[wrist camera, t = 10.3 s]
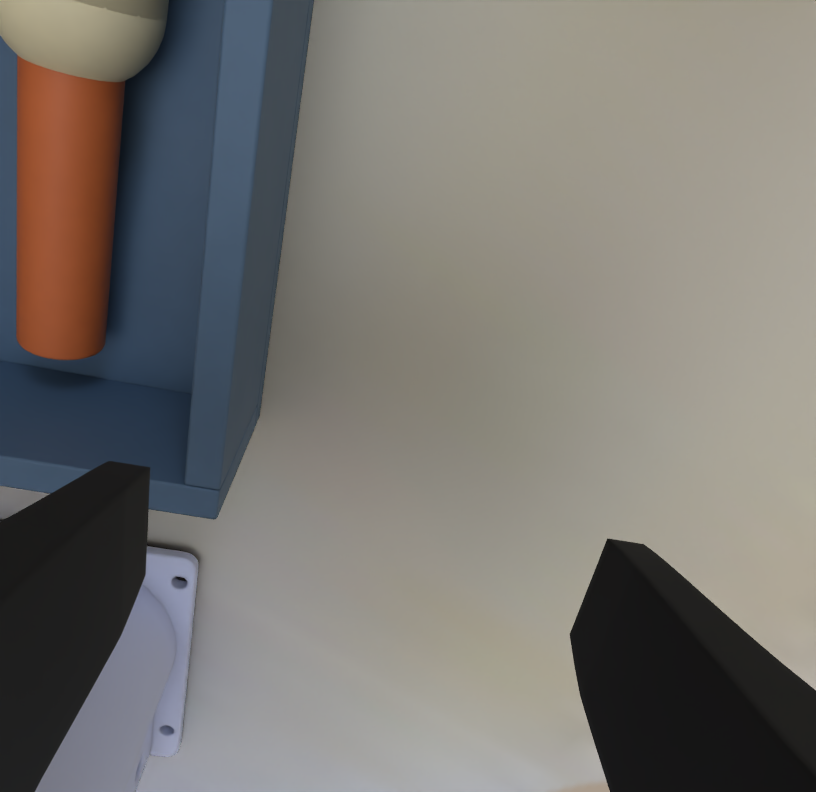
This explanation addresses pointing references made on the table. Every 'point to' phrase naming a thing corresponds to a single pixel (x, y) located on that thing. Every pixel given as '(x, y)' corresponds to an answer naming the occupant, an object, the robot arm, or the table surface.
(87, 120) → the bottle brush
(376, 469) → the table surface
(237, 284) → the wash tub
